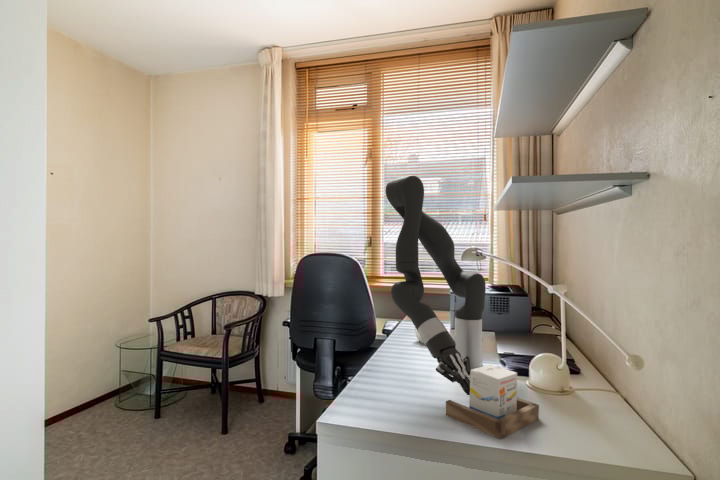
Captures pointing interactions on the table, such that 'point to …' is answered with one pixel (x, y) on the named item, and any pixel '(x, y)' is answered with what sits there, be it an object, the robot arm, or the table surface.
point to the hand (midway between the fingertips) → (471, 393)
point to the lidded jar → (418, 335)
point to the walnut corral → (491, 425)
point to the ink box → (493, 391)
